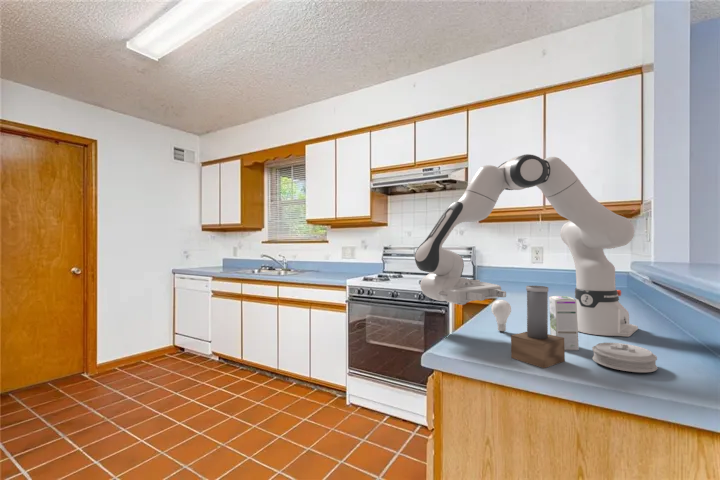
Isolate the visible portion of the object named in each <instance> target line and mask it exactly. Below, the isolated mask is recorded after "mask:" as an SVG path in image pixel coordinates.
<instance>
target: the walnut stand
mask: <svg viewBox="0 0 720 480" xmlns="http://www.w3.org/2000/svg"><path fill="white" fill-rule="evenodd" d="M510 343H511V344H510V347H511V348H510V349H511V350H510V353H511V359H514V360H517V361H520V362H523V363H527V364H529V365H532V366H535V367H540V368H541V369H546V368H549V367H552V366H554V365H559V364H561V363H563V362H565V360H566V359H565V357H566V356H565V351H566V350H565V349H564V338H563V337H558V336H554V335H551V334H549V333H548V338H547V339H536V338H531V337H528V336H527V331H524V332H519V333H516V334H512V335H510Z"/></svg>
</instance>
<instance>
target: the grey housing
mask: <svg viewBox="0 0 720 480" xmlns="http://www.w3.org/2000/svg"><path fill="white" fill-rule="evenodd" d="M525 290H526V315H527V316H526V332H527V336H528V337H531V338H536V339H547V338H548V334H549V332H548V329H549V328H548V325H549V323H548V319H549V318H548V317H549V316H548V315H549V314H548V313H549V312H548V310H549V309H548V306H549V304H548V302H549V300H548V299H549V298H548V295H549V287H548V286H543V285H526V286H525Z"/></svg>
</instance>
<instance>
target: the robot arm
mask: <svg viewBox="0 0 720 480" xmlns="http://www.w3.org/2000/svg"><path fill="white" fill-rule="evenodd" d="M533 187H537V188H538V189H539V190H540V191H541V193H542V194H543V196H544V197H545V198H546V200H547V201H548V202H549V204H550V205H551V207H552V208H553V209H554V211H555V212H556V213H557V214H558V215H559V216H560V217H562V218H565V219H567V220H568V221H567V222H565V223H564V224H563V225H562V227H561V229H560V237H561V240H562V242H563V243H564V244H565V245H566V246H567V247H568V248H569V251H570V254H571V255H572V256H571V257H572V259H573V261H574V268H575V280H576V281H575V282H576V283H575V284H576V287H575V289H574V299H576V300H577V321H578V333H579V332H581V333H584V334H590V335H596V336H605V337H606V336H610V337H611V336H612V337H613V336H614V337H626V338H627V337H630V336H632V335H633V334H634V333H635V332H636V331H638V330H639V326H638V325H635V324H633V323H632V324H631V323H630V313H629V310H627V309H626V308H625V307H624V306H623V305H622V304H621V302H620V299H619V297H621V296H622V290H620V289H616V287H617V286H616V268H615V265H614V264H613V263H612V262H611V261H610V260H609V259H608V258H607V257H606V253H605V252H604V249H605V250H606V249H610V250H611V249H615V248H616V249H617V248H620V247H624V246H626V245H628V244H630V243H631V241H633V239H634V235H635V228H634V224H633V223H632V222H631V220H630V219H629V218H627V217H625V216H622V215H620V214H617V213H615V212H614V211H612V210H610V209H609V208H607V207H606V206H605V205H603V204H602V203H600V202H599V201H598V200H597V199H596V198H595V197H593V195H591V193H590V192H589V191H588V189H587V188H586V187H585V186H584V184H583V182H581V180H580V179H579V178H578V176H577V175H576V173H574V171H573V170H572V169H571V168H570V167H569V166H568V164H566V163H565V162H564V161H563V160H562V159H561V158H559V157H557V156H550V157H545V158H544V159H543V158H541V157H540V156H537V155H534V154H529V153H528V154H522V155H519V156H514V157H512V158H510V159H509V160H507V161H505V162H503V163H501V164H500V165H499V166H496V165H491V164H488V165H487V164H486V165H483V166H481V167H479V169H478V170H477V171H476V172H475V174H474V175H473V177H472V178H471V180H470V181H469V183H468V185H467V187H466V188H465V191H464V193H463V194H462V195H461V197H460V198H458V200H457V201H455V202H453V203H451V204H450V205H448V207H447V208H446V209H445V211H444V212H443V213H442V215H441V216H440V218H438V221H437V222H436V224H435V225H434V226H433V228H432V229H431V231H430V232H429V234H428V236H427V237H426V238H425V240H423V242H422V243H420V245H419V246H418V248H416V251H415V253H414V261H415V265H416V266H417V267H416V268H418V270H419V271H422V272H425V273H428V274H427V275H425V276H423V277H422V278H421V281H420V283H419V284H420V290H421V291H422V294H423V295H424V296H426V297H427V298H429V299H432V300H436V301H438V302H439V301H440V302H448V303H450V304H455V305H460V306H464V305H466V304H467V303H469V302H474V301H480V302H481V301H485V300H488V299H495V298H496V299H497V298H506V297H507V292H506V291H505V290H502V286H501V285H499V284H496V283H490V282H485V281H481V279H477V278H475V279H473V278H466V277H462V275H463V272H464V266H465V265H464V259H463V257H462V256H461V255H460V254H458V253H457V252H454V251H452V250H449V249H446V248H444V247H443V244H444V243H445V241H446V240H447V238H448V237H449V236H450V234H451V233H452V231H453V230H454V228H455V227H456V226H457V225H459V224H462V223H467V222H468V223H475V222H476V223H477V222H480V221H484V220H485V219H487V218H488V217H489V216H490V214H492V212H493V210H494V208H495V206H496V204H497V202H498V201H499V198H500V195H501V194H502V192H504V191H505V190H507V191H520V190H524V189H529V188H533Z"/></svg>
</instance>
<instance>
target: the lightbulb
mask: <svg viewBox="0 0 720 480" xmlns="http://www.w3.org/2000/svg"><path fill="white" fill-rule="evenodd" d="M490 309H491V312H492V314H493V315H494V317H495V321H496V322H497V323H496V324H497V331H499V332H501V333H504V332H505V331H506V332H507V328H506V327H507V325H506V324H507V321H508V319H509V317H510V315H511V313H512V306H511V304H510V303H509V302H508V301H506V300H505V299H496V300H495V301H493V302H492V304H491V308H490Z"/></svg>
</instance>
